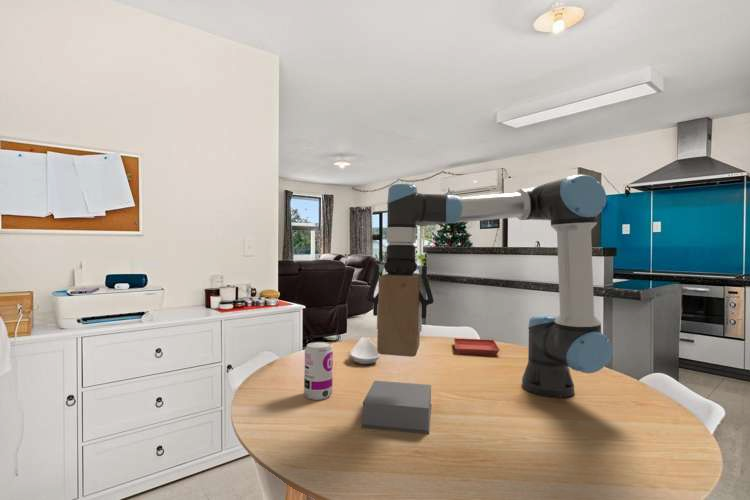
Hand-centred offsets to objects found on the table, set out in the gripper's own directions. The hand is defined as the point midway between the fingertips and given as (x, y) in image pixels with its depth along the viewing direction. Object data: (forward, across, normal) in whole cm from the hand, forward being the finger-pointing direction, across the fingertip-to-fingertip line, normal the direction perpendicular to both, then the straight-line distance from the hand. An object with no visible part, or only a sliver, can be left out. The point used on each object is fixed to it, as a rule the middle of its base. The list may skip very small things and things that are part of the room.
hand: (399, 329), depth 101 cm
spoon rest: (+23, +19, -51) cm, 59 cm away
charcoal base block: (+23, 0, 0) cm, 23 cm away
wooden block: (+6, 0, 0) cm, 6 cm away
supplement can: (+23, +25, -9) cm, 35 cm away
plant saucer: (+23, -25, -73) cm, 81 cm away
